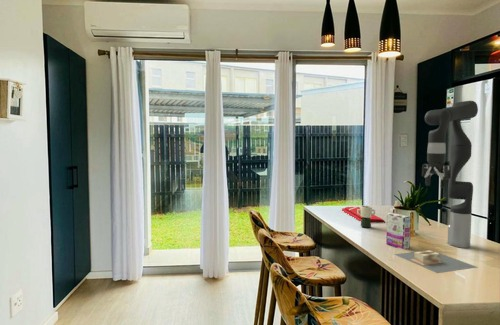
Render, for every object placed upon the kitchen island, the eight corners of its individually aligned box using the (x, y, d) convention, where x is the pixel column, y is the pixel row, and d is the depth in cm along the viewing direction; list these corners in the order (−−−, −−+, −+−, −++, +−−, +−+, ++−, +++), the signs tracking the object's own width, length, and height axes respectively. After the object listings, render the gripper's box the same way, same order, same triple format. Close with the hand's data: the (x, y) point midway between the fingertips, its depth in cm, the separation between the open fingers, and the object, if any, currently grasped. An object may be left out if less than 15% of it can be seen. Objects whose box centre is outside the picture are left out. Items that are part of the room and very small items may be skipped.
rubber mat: (394, 255, 157) (394, 253, 157) (430, 251, 163) (430, 249, 163) (437, 274, 134) (437, 272, 134) (477, 268, 141) (477, 266, 141)
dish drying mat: (362, 223, 222) (362, 218, 222) (341, 211, 263) (341, 206, 263) (385, 223, 223) (385, 217, 223) (360, 211, 264) (360, 206, 264)
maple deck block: (429, 257, 151) (430, 250, 151) (439, 261, 146) (439, 253, 146) (414, 259, 148) (414, 251, 148) (422, 263, 144) (423, 255, 143)
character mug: (373, 226, 214) (374, 205, 213) (376, 228, 207) (376, 208, 206) (355, 225, 215) (356, 205, 214) (357, 228, 208) (358, 207, 207)
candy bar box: (410, 249, 167) (411, 216, 166) (403, 250, 165) (404, 217, 164) (392, 243, 177) (393, 212, 176) (385, 244, 175) (386, 213, 174)
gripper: (455, 152, 152) (454, 188, 153) (430, 152, 165) (429, 184, 166) (443, 152, 149) (441, 189, 150) (418, 152, 163) (417, 185, 164)
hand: (435, 186), depth 158 cm, fingers open, 8 cm apart
